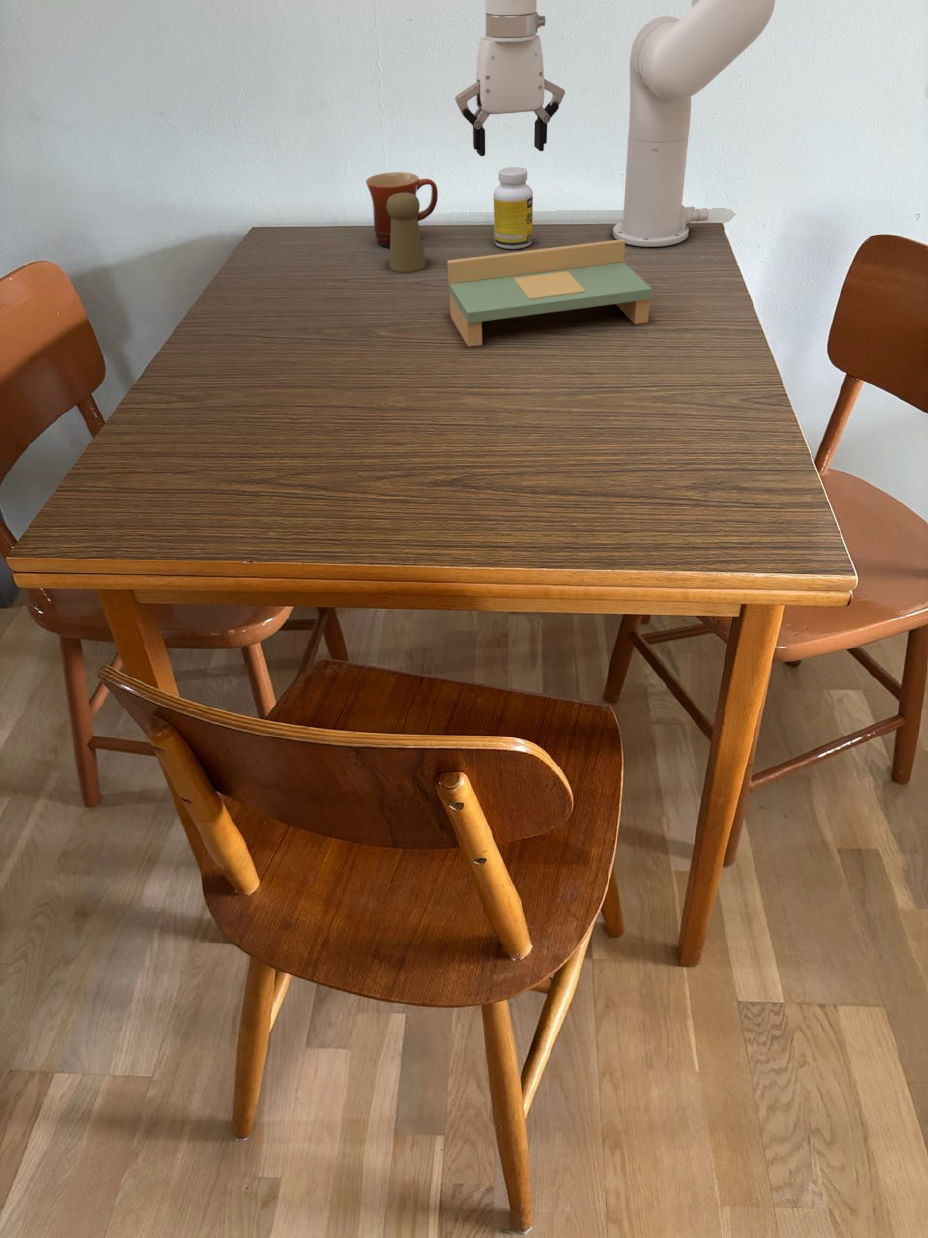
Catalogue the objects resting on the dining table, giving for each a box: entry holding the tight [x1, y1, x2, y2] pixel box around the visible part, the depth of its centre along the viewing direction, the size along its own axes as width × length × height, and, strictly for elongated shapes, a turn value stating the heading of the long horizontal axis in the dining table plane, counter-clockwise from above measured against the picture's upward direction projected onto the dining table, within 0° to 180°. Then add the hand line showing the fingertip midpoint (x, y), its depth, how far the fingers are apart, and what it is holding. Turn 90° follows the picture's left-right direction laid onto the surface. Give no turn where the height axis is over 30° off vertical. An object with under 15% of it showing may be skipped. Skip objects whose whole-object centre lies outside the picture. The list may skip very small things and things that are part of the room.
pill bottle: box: [493, 166, 534, 250], centre depth 158 cm, size 6×6×12 cm
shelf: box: [446, 239, 653, 348], centre depth 134 cm, size 26×12×8 cm, turn 103°
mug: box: [365, 171, 439, 249], centre depth 162 cm, size 12×9×10 cm
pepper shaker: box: [386, 193, 427, 273], centre depth 153 cm, size 6×6×11 cm
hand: (510, 151), depth 153 cm, fingers open, 9 cm apart
